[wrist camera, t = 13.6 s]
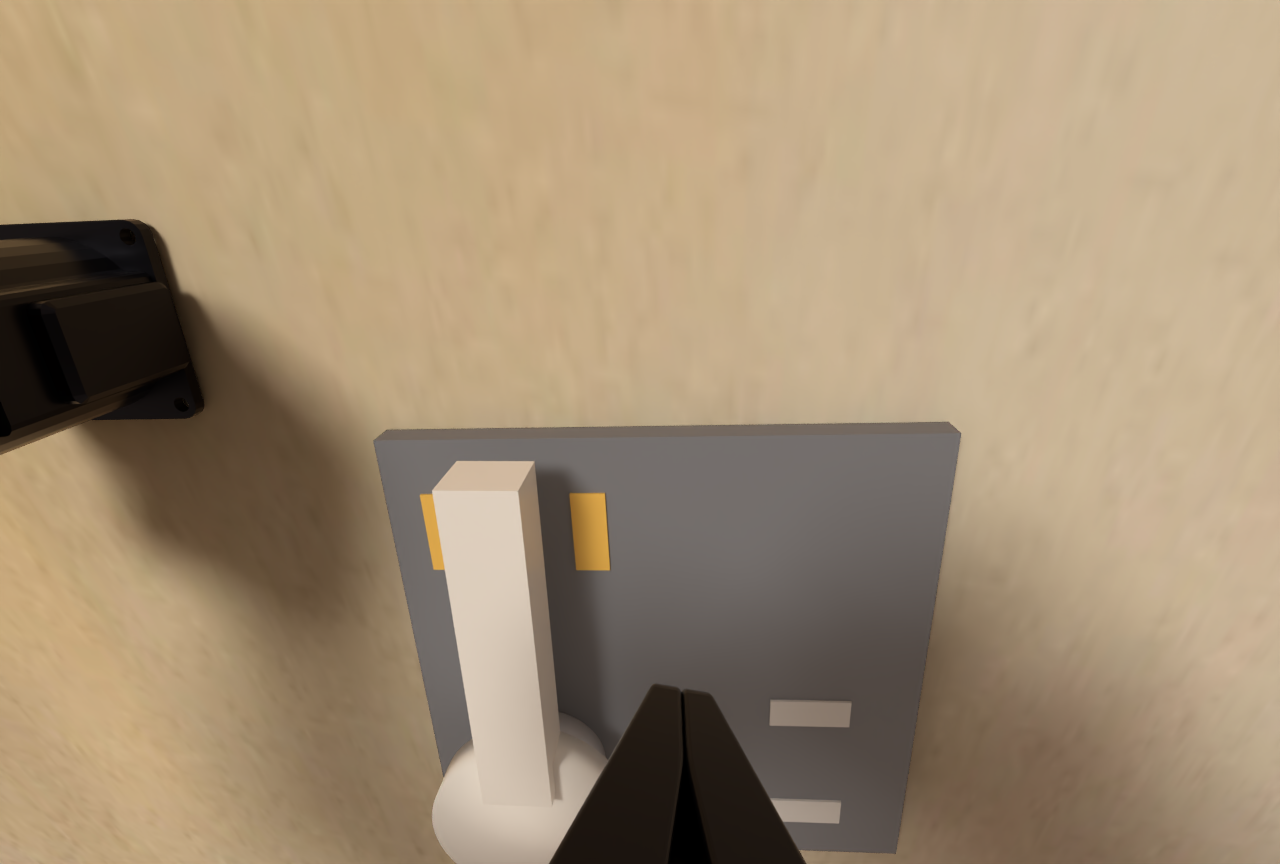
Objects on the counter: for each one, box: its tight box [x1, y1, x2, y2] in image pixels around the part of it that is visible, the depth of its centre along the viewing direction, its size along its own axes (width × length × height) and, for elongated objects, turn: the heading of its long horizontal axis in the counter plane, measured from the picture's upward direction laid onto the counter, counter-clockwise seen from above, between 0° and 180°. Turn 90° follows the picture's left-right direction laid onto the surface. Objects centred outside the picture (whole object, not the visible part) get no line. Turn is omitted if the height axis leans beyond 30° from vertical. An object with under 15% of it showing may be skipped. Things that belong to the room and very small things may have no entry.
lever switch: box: [432, 461, 608, 864], centre depth 21 cm, size 18×7×2 cm, turn 1°
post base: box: [373, 422, 961, 854], centre depth 23 cm, size 19×19×2 cm
